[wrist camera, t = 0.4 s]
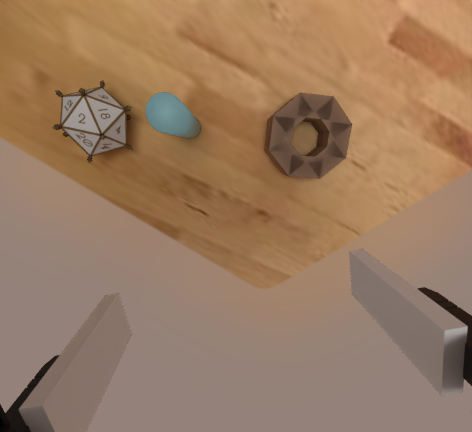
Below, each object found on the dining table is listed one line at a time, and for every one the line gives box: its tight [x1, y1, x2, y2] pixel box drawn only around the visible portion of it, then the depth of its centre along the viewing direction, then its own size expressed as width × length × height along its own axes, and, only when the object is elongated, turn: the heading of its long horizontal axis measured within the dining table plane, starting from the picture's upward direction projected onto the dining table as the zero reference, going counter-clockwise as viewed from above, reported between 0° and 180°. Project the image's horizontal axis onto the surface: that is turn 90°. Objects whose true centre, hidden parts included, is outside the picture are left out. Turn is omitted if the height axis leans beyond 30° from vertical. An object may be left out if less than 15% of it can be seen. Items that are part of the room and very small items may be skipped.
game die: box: [53, 80, 132, 163], centre depth 32 cm, size 9×8×10 cm
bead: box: [265, 93, 352, 179], centre depth 36 cm, size 10×10×4 cm
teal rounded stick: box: [146, 92, 201, 139], centre depth 29 cm, size 3×3×16 cm
